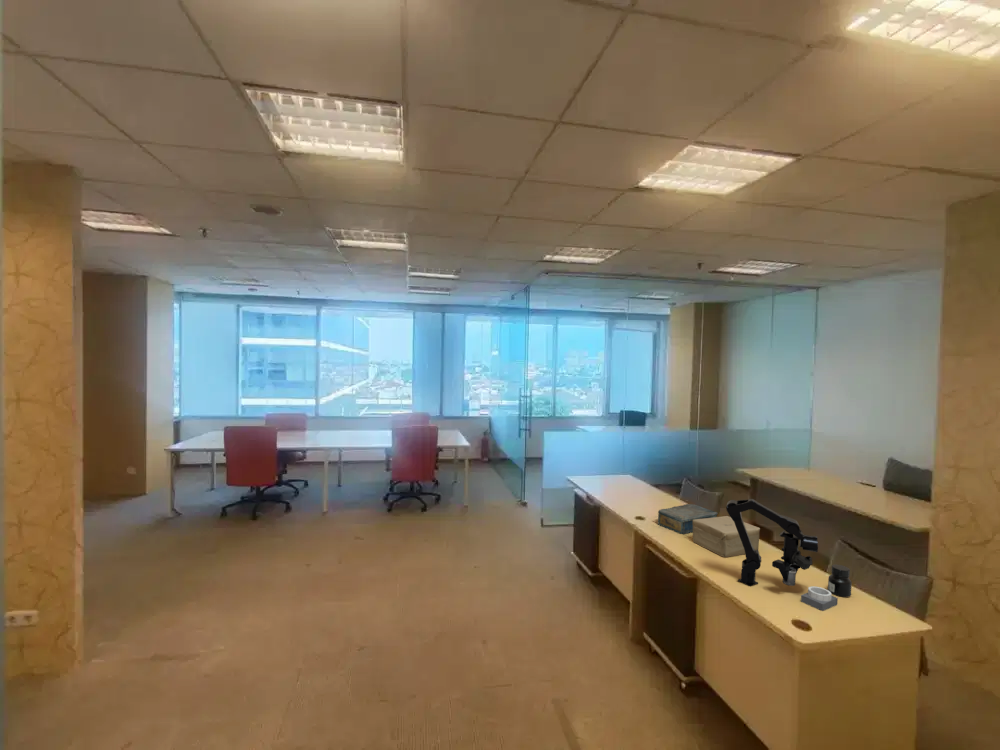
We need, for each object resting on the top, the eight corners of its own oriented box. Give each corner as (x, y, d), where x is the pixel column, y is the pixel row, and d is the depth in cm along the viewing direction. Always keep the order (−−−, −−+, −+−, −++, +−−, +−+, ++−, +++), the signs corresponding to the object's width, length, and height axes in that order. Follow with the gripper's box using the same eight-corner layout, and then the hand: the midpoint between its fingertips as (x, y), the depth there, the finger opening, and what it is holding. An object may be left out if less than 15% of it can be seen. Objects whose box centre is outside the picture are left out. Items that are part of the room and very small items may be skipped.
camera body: (822, 611, 211) (823, 598, 211) (800, 601, 219) (801, 589, 219) (837, 604, 217) (838, 592, 217) (815, 595, 225) (816, 583, 225)
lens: (791, 586, 225) (792, 571, 225) (780, 582, 229) (780, 566, 229) (797, 584, 227) (798, 569, 227) (786, 579, 232) (787, 564, 232)
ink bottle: (829, 586, 235) (830, 561, 234) (851, 592, 229) (853, 567, 229) (826, 593, 227) (828, 568, 227) (849, 600, 222) (851, 573, 221)
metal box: (718, 527, 313) (718, 512, 313) (683, 535, 297) (684, 519, 297) (690, 517, 332) (690, 503, 331) (655, 524, 315) (656, 509, 315)
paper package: (725, 536, 298) (726, 513, 297) (761, 553, 274) (762, 528, 273) (689, 541, 288) (690, 517, 287) (724, 559, 264) (725, 533, 263)
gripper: (797, 557, 216) (795, 592, 217) (820, 550, 225) (818, 583, 226) (772, 548, 226) (770, 581, 226) (795, 541, 235) (793, 573, 236)
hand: (789, 580), depth 228 cm, fingers closed on lens, 5 cm apart
